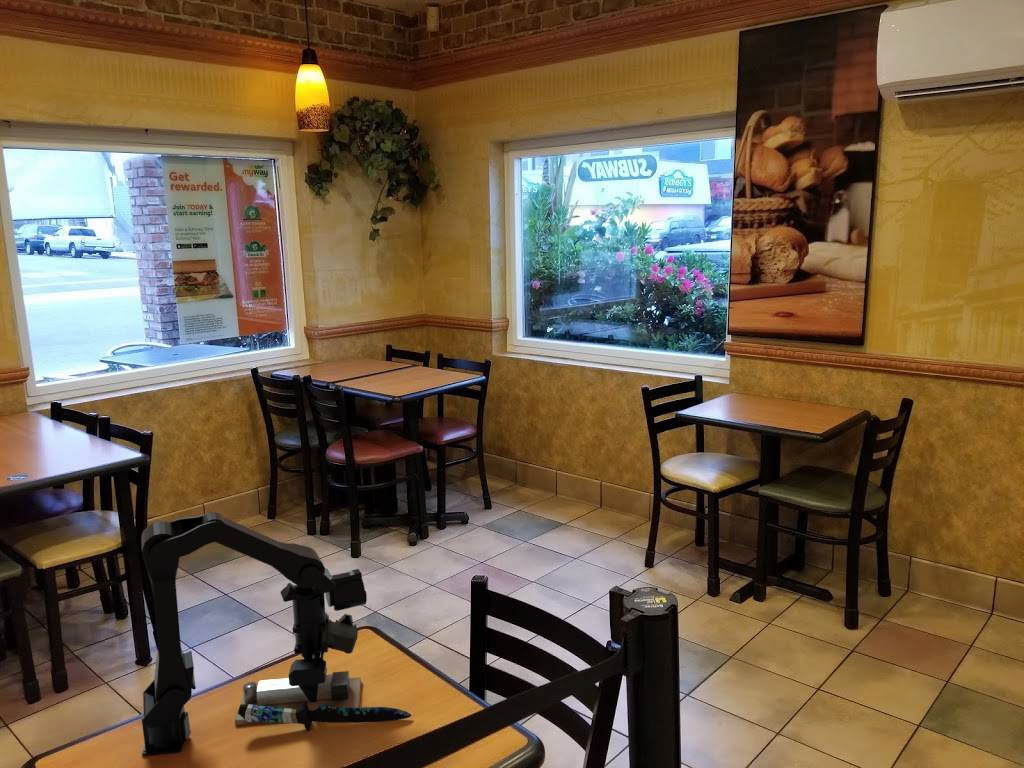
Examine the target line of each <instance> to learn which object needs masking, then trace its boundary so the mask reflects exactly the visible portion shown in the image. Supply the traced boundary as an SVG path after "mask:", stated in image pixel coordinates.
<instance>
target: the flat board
mask: <svg viewBox="0 0 1024 768" xmlns="http://www.w3.org/2000/svg"><path fill="white" fill-rule="evenodd" d="M361 684H362V677H361V676H359V677H349V694H348V699H340V700H332V698H331V699H321V700H316V702H310V701H306V702H307V705H308V708H309V710H316V709H318V708H319V706H320V703H321V704H324V705H328V706H332V707H339V708H360V698H361ZM257 688H258V686H257ZM241 704H245V703H244V693H242V697H241V700H240V703H239V705H238V709H237V712H236V715H235V718H234V725H235V726H238V725H240V726H241V725H248V724H249V725H251V724H261V723H262V724H263V722H248V721H247V720H245V719H244V718H243V717H241V716H240V715H239V714H238V711H239V707H240V705H241ZM301 704H302V701H300V702H290V703H280V704H270V705H260V706H269V707H278V708H287V709H300V708H301ZM252 705H258V702H256V703H255V704H252Z"/></svg>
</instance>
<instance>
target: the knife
mask: <svg viewBox="0 0 1024 768" xmlns="http://www.w3.org/2000/svg"><path fill="white" fill-rule="evenodd" d="M239 706H240V707H239ZM239 706H238V709H239V711H238V710H237V712H238V714H239V715H240V716H241V717H243V718H244V719H245V720H247V721H248V722H262V723H271V724H273V723H278V724H298V725H299V724H300V725H303V726H304V728H305V731H306V733H309V732H311V729H312V726H313V725H312V724H313V723H329V724H330V723H332V724H333V723H334V724H337V723H338V724H339V723H340V724H343V723H344V724H345V723H346V724H348V723H350V724H351V723H353V724H354V723H355V724H357V723H359V724H360V723H361V724H362V723H378V722H391V721H392V722H394V721H401V720H405V719H408V718H410V717H412V714H411V713H409V712H408V711H405V710H403V709H400V708H396V707H395V708H394V707H390V706H389V707H388V706H387V707H386V706H371V707H370V706H368V707H367V706H366V707H362V706H361V707H359V708H339V707H332V706H328V705H324V704H321V703H320V706H319V708H318V709H316V710H309V708H308V705H307V702H306V701H302V704H301V708H300V709H287V708H278V707H269V706H259V705H251V704H241V705H240V704H239Z"/></svg>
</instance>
